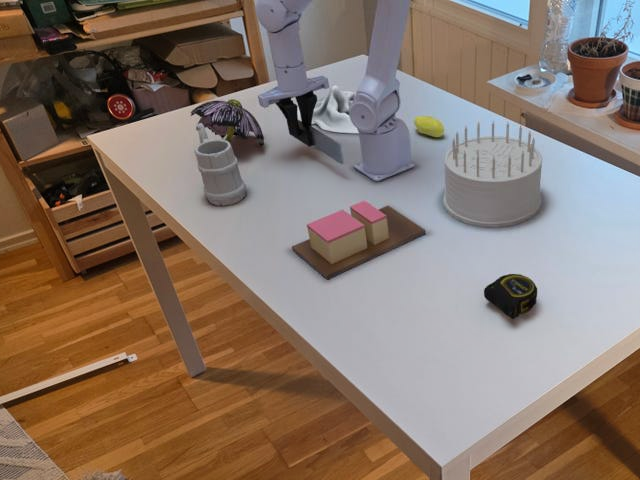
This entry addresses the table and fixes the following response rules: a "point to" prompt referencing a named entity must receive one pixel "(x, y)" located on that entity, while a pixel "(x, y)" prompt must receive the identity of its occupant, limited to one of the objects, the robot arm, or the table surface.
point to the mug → (219, 170)
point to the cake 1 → (337, 236)
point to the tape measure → (512, 294)
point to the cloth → (334, 112)
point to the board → (398, 233)
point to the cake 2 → (492, 180)
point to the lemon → (429, 126)
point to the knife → (318, 141)
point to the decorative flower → (228, 120)
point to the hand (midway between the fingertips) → (302, 132)
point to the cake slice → (371, 221)
